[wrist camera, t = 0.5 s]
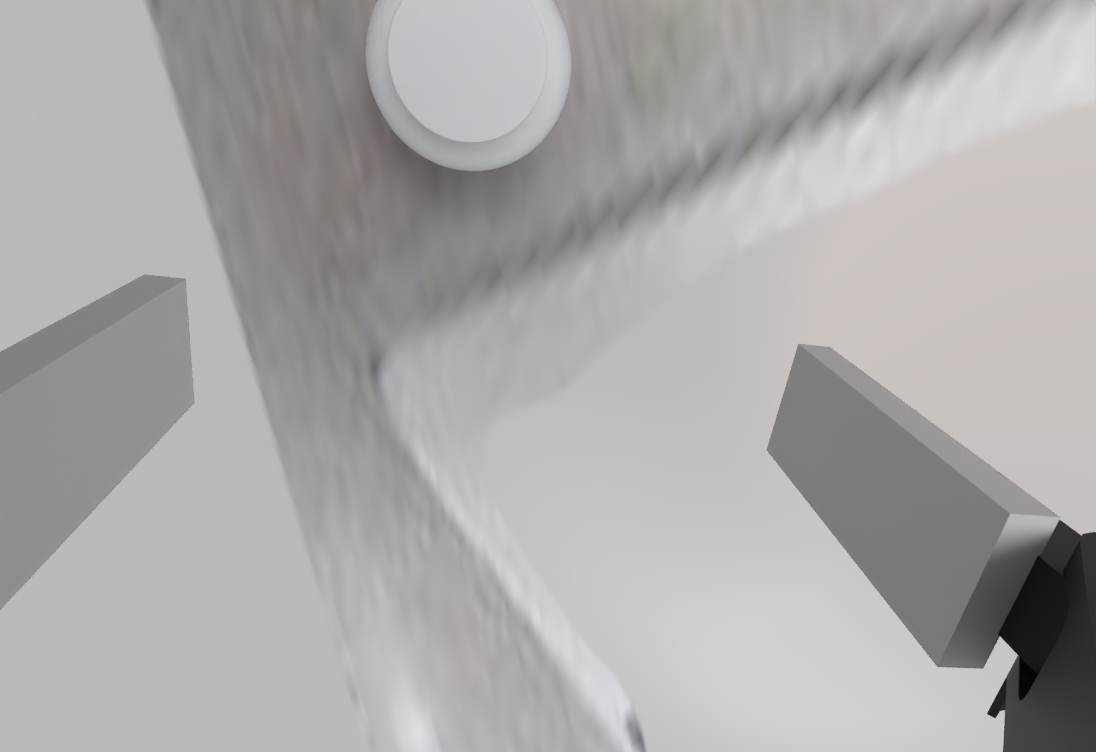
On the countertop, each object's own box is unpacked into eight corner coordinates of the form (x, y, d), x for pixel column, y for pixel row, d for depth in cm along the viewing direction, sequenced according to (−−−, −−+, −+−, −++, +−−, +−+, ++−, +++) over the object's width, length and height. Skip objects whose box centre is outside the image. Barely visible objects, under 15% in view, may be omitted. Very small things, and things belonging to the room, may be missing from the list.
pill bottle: (420, 167, 38) (385, 203, 24) (378, 8, 34) (311, -49, 21) (560, 136, 38) (601, 156, 24) (531, -25, 34) (559, -104, 21)
